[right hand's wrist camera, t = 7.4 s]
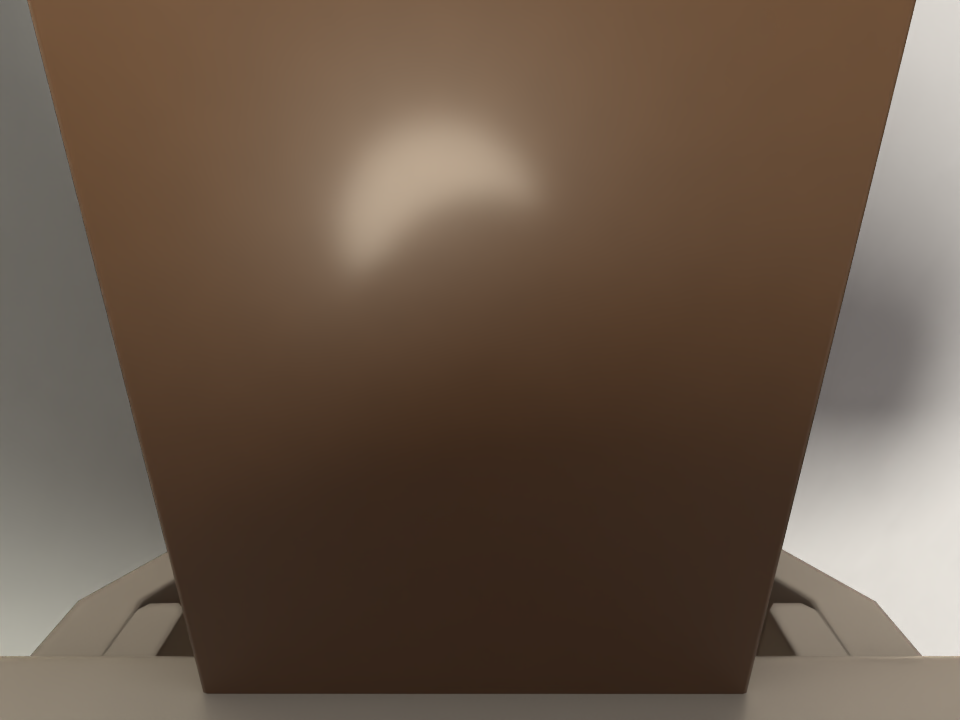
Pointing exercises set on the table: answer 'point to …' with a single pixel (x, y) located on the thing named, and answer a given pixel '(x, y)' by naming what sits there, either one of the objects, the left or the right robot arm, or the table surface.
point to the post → (473, 318)
